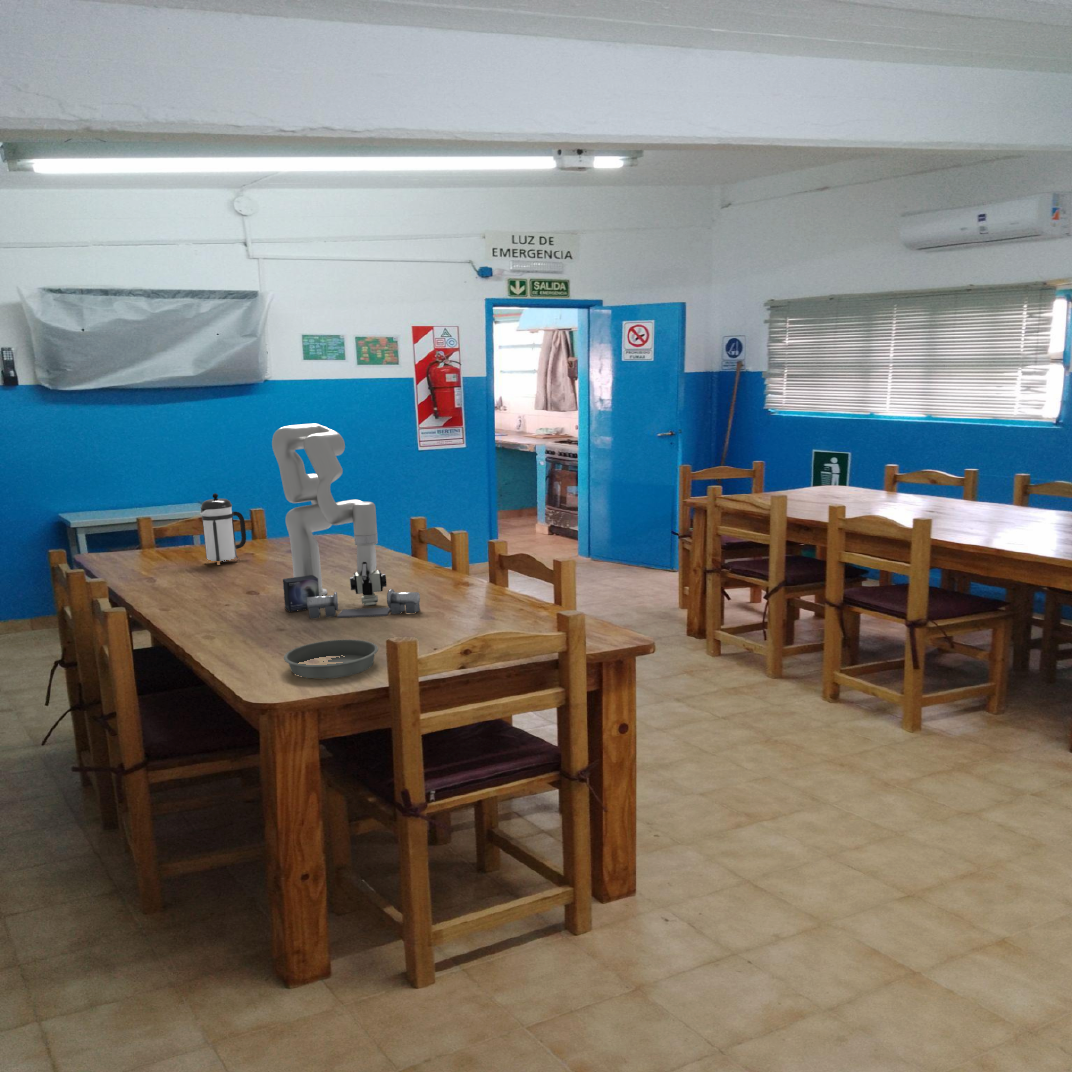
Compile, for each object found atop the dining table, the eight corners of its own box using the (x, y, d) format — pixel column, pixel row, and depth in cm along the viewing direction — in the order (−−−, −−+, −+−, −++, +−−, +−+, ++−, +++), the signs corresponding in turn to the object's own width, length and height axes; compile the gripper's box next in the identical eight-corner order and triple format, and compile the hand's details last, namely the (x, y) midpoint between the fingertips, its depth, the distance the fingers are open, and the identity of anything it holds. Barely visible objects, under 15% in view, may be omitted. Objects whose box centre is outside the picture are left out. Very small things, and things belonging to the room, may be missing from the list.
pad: (337, 617, 329) (337, 616, 329) (343, 611, 338) (343, 609, 337) (386, 615, 328) (386, 613, 328) (391, 609, 337) (391, 607, 337)
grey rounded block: (388, 614, 330) (386, 591, 328) (394, 610, 335) (392, 587, 334) (416, 614, 328) (414, 591, 327) (421, 609, 334) (420, 587, 332)
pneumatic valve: (388, 604, 344) (385, 569, 341) (352, 608, 342) (349, 573, 339) (386, 600, 349) (383, 565, 347) (351, 603, 347) (348, 569, 344)
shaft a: (308, 619, 329) (306, 596, 328) (309, 614, 335) (307, 592, 334) (338, 616, 330) (336, 593, 329) (338, 612, 336) (336, 589, 335)
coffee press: (236, 565, 432) (229, 494, 427) (199, 567, 433) (191, 496, 428) (248, 557, 449) (242, 489, 444) (212, 559, 450) (205, 491, 445)
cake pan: (268, 681, 264) (267, 664, 264) (308, 654, 288) (307, 638, 287) (359, 682, 259) (357, 665, 258) (392, 655, 283) (391, 639, 282)
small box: (289, 613, 339) (286, 581, 338) (284, 609, 345) (281, 578, 343) (321, 608, 344) (318, 577, 342) (315, 604, 350) (312, 574, 348)
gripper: (359, 535, 350) (363, 587, 353) (349, 544, 333) (353, 599, 336) (381, 534, 350) (385, 586, 353) (372, 543, 333) (376, 598, 336)
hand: (369, 592), depth 344 cm, fingers closed on pneumatic valve, 5 cm apart
